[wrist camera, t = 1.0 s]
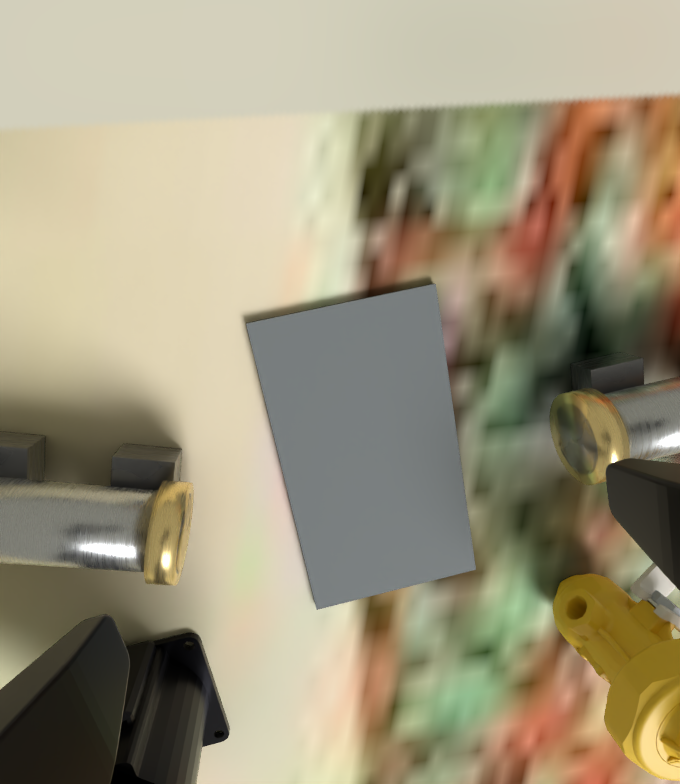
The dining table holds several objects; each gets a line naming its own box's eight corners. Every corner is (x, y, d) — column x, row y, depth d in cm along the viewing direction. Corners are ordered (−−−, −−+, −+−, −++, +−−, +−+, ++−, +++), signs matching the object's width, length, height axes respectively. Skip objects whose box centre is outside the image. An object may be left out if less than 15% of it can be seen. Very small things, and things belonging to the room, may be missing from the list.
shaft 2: (736, 326, 23) (854, 341, 18) (734, 414, 24) (844, 449, 19) (533, 371, 22) (601, 400, 18) (541, 460, 24) (607, 508, 19)
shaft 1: (201, 451, 21) (179, 503, 17) (192, 541, 22) (169, 615, 18) (-27, 428, 20) (-121, 479, 15) (-25, 526, 21) (-113, 602, 16)
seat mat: (473, 565, 25) (475, 569, 24) (316, 605, 24) (316, 609, 24) (433, 283, 21) (435, 283, 21) (246, 322, 20) (245, 323, 20)
